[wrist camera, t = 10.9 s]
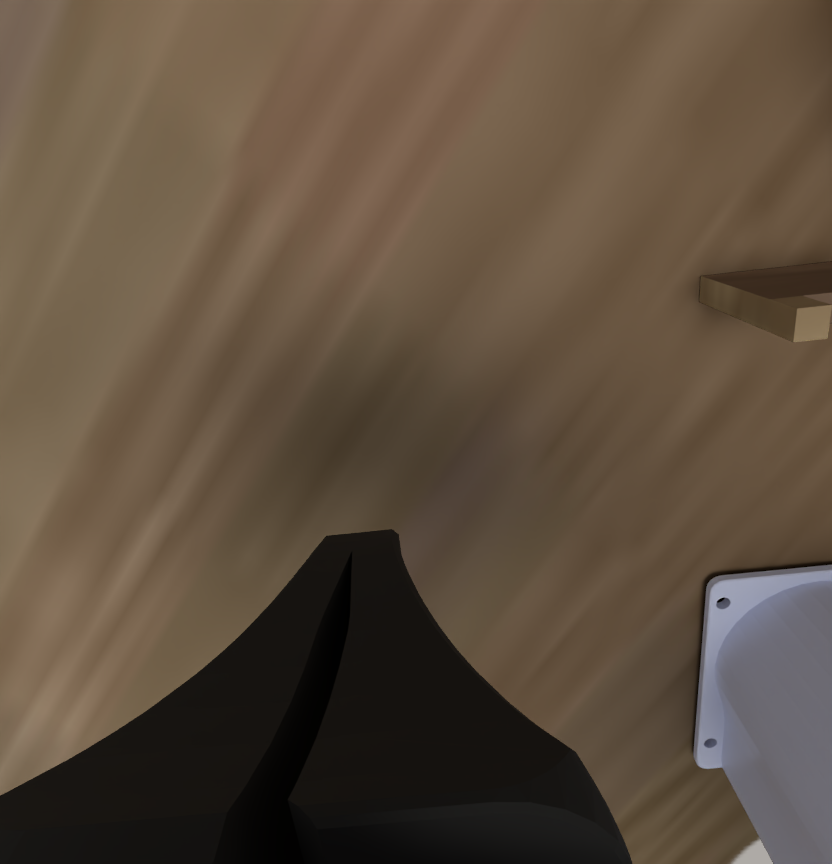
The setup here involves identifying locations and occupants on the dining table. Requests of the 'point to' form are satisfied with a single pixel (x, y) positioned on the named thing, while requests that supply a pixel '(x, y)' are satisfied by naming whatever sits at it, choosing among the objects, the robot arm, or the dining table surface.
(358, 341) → the dining table surface
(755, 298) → the shallow wooden tray
